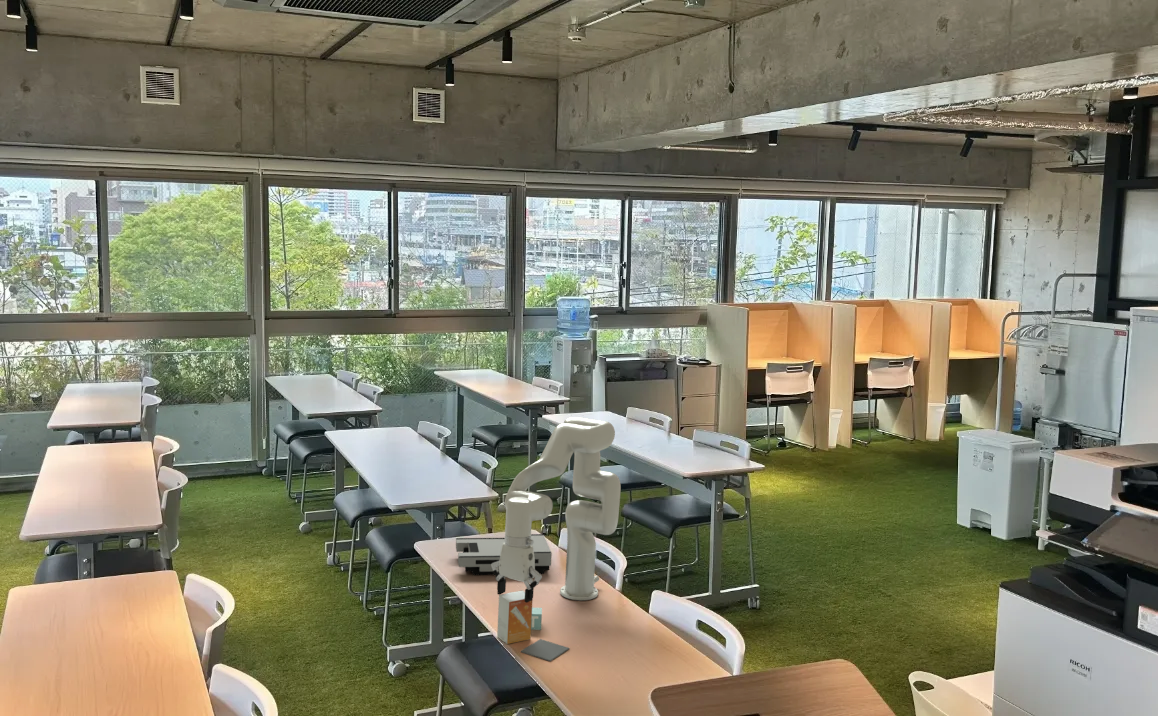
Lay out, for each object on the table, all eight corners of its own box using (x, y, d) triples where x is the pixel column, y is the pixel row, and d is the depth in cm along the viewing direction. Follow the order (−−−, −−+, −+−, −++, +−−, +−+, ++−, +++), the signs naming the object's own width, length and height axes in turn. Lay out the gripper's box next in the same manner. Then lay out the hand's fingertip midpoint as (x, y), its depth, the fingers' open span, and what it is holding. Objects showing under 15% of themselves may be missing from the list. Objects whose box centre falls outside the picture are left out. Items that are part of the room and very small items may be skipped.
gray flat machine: (455, 556, 349) (456, 534, 348) (542, 555, 355) (543, 534, 354) (458, 577, 329) (459, 554, 328) (550, 575, 335) (551, 553, 334)
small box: (507, 645, 277) (508, 601, 275) (496, 636, 282) (498, 594, 280) (531, 639, 281) (533, 597, 280) (520, 631, 287) (522, 589, 285)
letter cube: (524, 622, 293) (525, 607, 292) (541, 623, 293) (541, 607, 293) (524, 629, 288) (525, 613, 287) (541, 630, 288) (541, 614, 288)
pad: (540, 640, 281) (540, 638, 281) (569, 649, 276) (569, 647, 276) (520, 652, 273) (520, 650, 272) (550, 661, 267) (550, 660, 267)
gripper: (549, 543, 276) (546, 600, 278) (501, 531, 285) (498, 587, 287) (535, 549, 270) (532, 608, 272) (485, 537, 279) (483, 593, 281)
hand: (514, 597), depth 280 cm, fingers open, 9 cm apart
